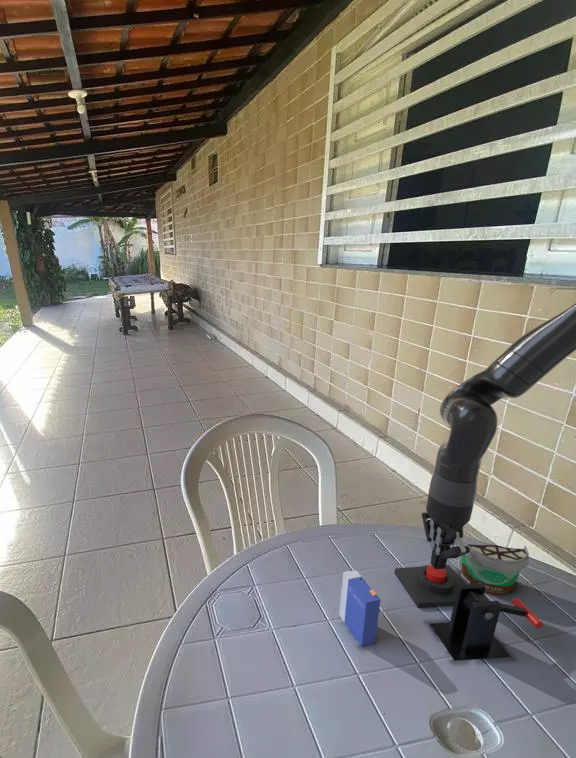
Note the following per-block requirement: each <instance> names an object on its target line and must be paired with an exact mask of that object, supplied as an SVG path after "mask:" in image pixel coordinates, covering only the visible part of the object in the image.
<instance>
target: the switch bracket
mask: <svg viewBox="0 0 576 758" xmlns="http://www.w3.org/2000/svg"><path fill="white" fill-rule="evenodd" d="M485 588H486V587H485V586H484V585H483V584H469V583H466V585H458V588H457V592H456V597H455V602H454V606H452V611H451V616H450V619H449V621H448V622H447V621H446V622H433V623H432V622H431V623H428V626H429V627H430V629H431V630H432V632H433V634H434V635H435V636H436V637H438V639H439V640H440V642H441V643H442V644H443V646H444V648H445V649H446V650H447V651H446V652H447V653H448V654H449V656H450V657H451V658H452V660H453V662H459V661H473V660H475V661H476V660H488V659H503V658H504V659H505V658H512V656H511V655H510V654H509V653H508V651H507V650H506V648H504V647H503V646H502V644H501V643H500V642H499V640H498V639H497V638H496V637H495V632H496V629H497V624H498V621H499V618H500V613H501V612H500V610H501V606H502V605H501V603H502V602H501V601H499V600H489V601H485V602H473V603H472V607H471V610H470V609H469V608H468V607H467V605H466V604H465V603H464V602H463V601H464V599H465V598H466V596H467V595H468V593H469V592H470V591H471V592H475V593H480V594H484V595H485V593H486V592H485Z"/></svg>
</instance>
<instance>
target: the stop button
mask: <svg viewBox="0 0 576 758" xmlns="http://www.w3.org/2000/svg"><path fill="white" fill-rule="evenodd" d="M429 565H430V566H428V567H427V571H426V577H427V578H428V579H429V580H430V581H432V582H435V583H439V584H440V583H444V582H445V581H446V576H447V573H446V571H445V570H444V569H435V568H434V567H433V566H432V565H431V564H429Z"/></svg>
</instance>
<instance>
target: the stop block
mask: <svg viewBox="0 0 576 758" xmlns="http://www.w3.org/2000/svg"><path fill="white" fill-rule="evenodd" d="M430 565H431V564H429V565H422V566H408V567H395V568H394V573H393V574H394V575H395V576H396V578H397V580H398V581H399V582H400V584H401V585H402V587H403V588H404V590H405V592H406V593H407V594H408V595H409V597H410V599H411V600H412V602H413V603H414V604H415V606H416V608H417V609H427V608H441V607H442V608H443V607H453V606H454V602H455V597H456V592H457V588H458V585H467V583H465V582H464V580H463V579H462V578H461V577H460V576H459V574H457V573H456V571H455V569H453V568H452V566H450V564H446V567H445V568H443V569H444V570H445V571H446V573H447V576H446V581H445V582H444V583H440V584H439V583H435V582H432V581H430V580H429V579H428V578H427V577H426V571H427V567H428V566H430Z"/></svg>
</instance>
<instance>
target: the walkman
mask: <svg viewBox="0 0 576 758" xmlns="http://www.w3.org/2000/svg"><path fill="white" fill-rule="evenodd" d="M342 573H343V574H342V583H341V589H340V601H339V611H338V616H339V617H340V618H341V620H342V621H343V623H344V625H345V626H346V628H347V629H348V631H349V632H350V633H351V635H352V637H353V638H354V640H355V641H356V642H358V643H359V645H360V647H361V648H362V647H365V646H366V647H367V646H370V645H374V644H376V637H377V629H378V623H379V616H380V615H379V614H380V608H381V598H380V597H379V596H378V595H377V593H376V592H375V590H374V589H373V588H372V587H371V586H370V585H369V583H367V581H366V580H365V579H364V578H363V576H362V575H361V574H360V572H359V571H358V570H356V569H355V570H351V571H350V570H347V571H343V572H342Z"/></svg>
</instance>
